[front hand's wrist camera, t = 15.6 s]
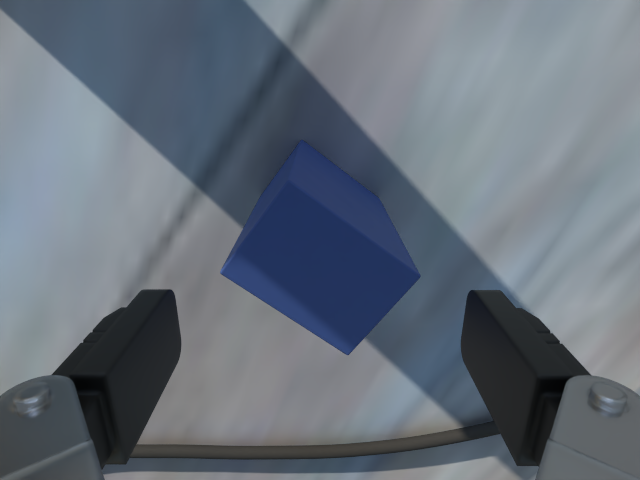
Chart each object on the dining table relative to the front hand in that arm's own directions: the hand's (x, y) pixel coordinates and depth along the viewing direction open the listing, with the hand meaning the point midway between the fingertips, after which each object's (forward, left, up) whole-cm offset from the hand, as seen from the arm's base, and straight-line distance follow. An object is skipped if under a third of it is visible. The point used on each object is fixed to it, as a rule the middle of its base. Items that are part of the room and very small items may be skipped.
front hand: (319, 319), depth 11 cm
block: (0, 0, -14) cm, 14 cm away
